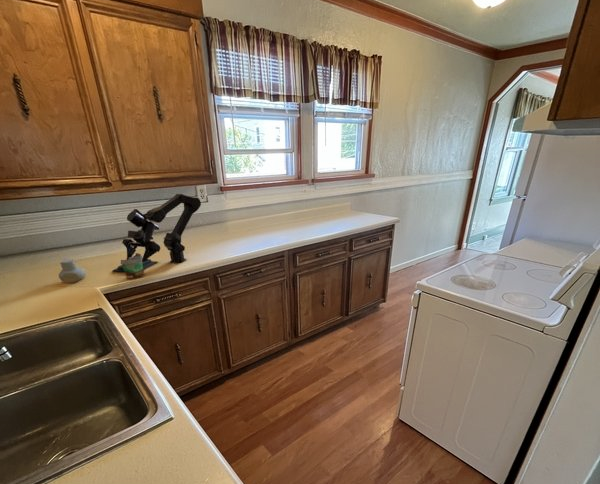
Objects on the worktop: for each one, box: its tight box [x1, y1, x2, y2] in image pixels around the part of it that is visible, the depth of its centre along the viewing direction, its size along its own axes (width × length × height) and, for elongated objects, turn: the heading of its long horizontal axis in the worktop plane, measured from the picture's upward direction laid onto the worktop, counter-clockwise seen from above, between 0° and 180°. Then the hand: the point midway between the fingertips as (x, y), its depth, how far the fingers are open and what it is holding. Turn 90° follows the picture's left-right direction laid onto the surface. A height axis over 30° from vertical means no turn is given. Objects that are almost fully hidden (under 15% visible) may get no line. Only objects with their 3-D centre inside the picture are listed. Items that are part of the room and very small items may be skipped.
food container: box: [120, 252, 145, 280], centre depth 160 cm, size 12×6×10 cm, turn 168°
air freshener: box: [58, 258, 87, 284], centre depth 155 cm, size 11×8×10 cm
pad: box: [112, 258, 158, 274], centre depth 174 cm, size 14×18×2 cm
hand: (135, 260), depth 159 cm, fingers open, 9 cm apart
